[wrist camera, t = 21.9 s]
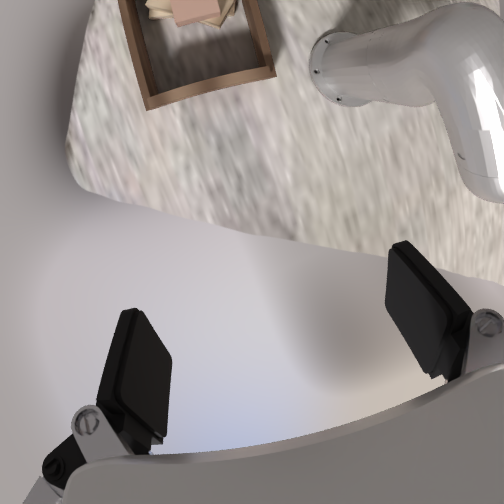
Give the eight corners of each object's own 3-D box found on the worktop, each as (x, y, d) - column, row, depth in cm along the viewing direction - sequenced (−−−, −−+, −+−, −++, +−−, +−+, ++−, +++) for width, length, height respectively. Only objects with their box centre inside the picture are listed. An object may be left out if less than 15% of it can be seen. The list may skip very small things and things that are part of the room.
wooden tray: (236, -42, 25) (239, -64, 19) (269, 78, 37) (279, 75, 30) (125, -11, 26) (108, -27, 19) (155, 108, 37) (142, 112, 31)
